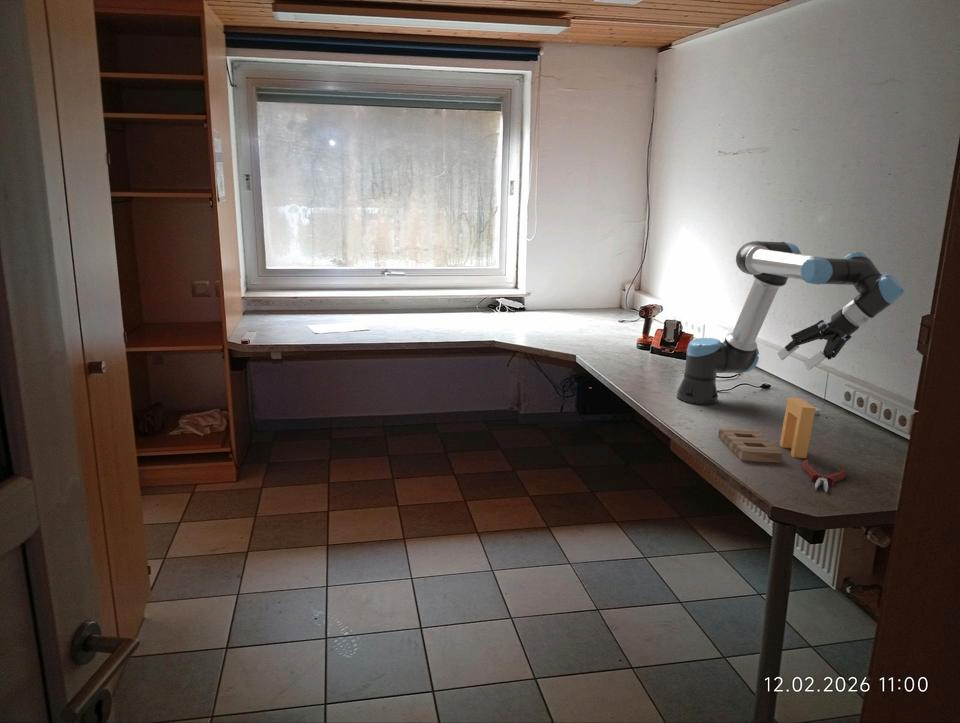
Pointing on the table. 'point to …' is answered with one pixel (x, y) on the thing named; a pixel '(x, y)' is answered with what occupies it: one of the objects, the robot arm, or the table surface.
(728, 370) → the robot arm
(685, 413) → the table surface
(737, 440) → the wooden slotted board
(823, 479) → the pliers
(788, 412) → the orange arch-shaped block
